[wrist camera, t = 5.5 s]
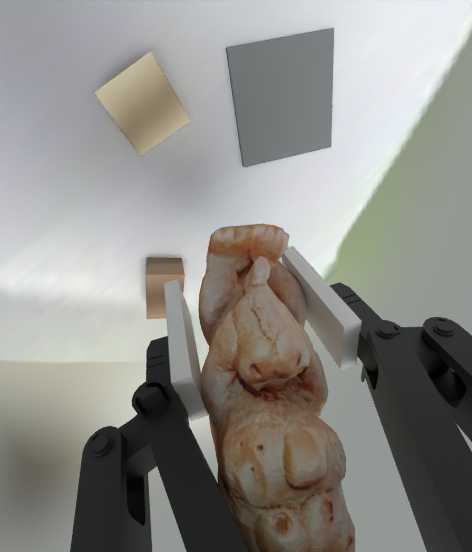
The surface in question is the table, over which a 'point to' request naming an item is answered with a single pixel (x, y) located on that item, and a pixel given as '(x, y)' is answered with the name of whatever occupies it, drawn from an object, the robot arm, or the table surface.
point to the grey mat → (283, 95)
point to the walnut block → (161, 283)
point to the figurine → (269, 399)
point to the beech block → (143, 104)
